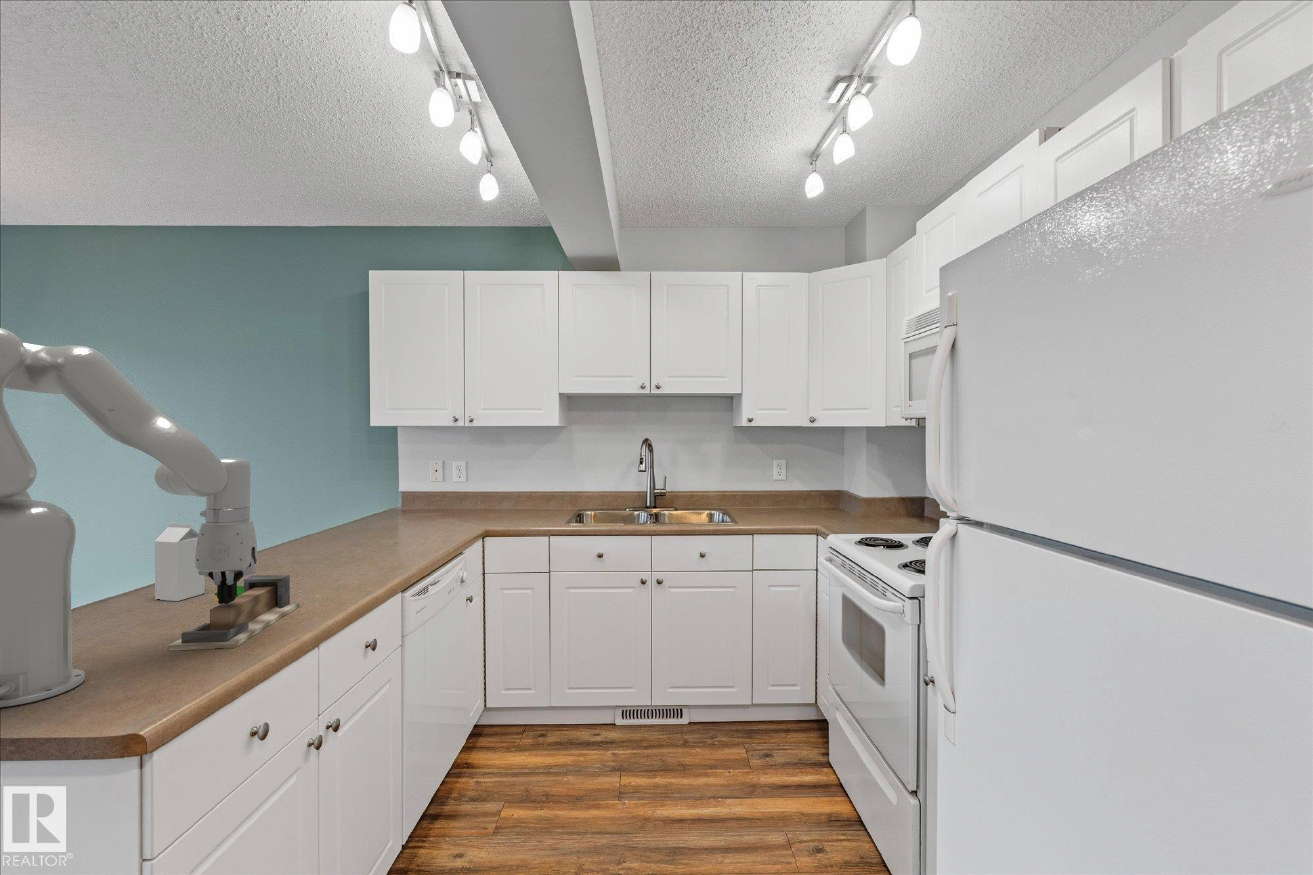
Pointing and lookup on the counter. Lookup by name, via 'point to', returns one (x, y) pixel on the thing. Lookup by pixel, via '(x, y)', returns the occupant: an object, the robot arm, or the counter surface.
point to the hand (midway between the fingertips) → (226, 601)
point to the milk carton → (177, 564)
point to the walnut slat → (243, 608)
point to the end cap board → (245, 630)
